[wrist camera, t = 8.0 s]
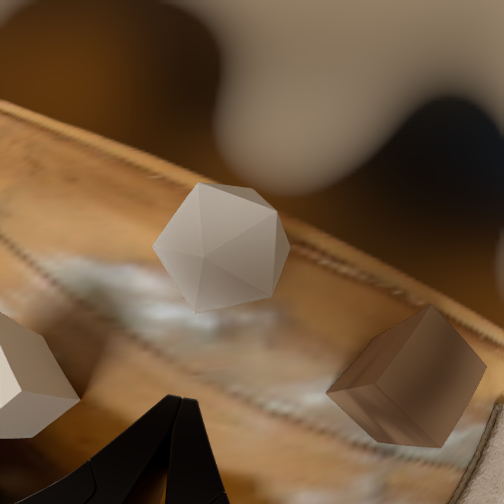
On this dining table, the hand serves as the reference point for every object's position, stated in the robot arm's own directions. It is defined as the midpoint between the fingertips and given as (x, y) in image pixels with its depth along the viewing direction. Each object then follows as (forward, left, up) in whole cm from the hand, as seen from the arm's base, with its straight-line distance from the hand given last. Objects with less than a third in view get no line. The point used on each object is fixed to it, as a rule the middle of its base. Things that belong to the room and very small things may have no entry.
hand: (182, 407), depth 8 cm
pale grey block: (+9, +10, -13) cm, 19 cm away
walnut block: (-8, -10, -13) cm, 19 cm away
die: (+7, -8, -14) cm, 17 cm away
